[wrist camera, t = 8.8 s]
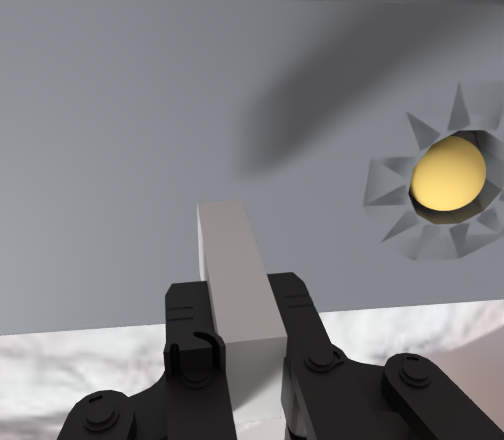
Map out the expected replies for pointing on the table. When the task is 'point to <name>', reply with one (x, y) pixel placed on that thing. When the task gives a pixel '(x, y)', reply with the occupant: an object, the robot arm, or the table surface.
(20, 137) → the grey flat block
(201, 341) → the robot arm
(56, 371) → the table surface
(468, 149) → the ball
